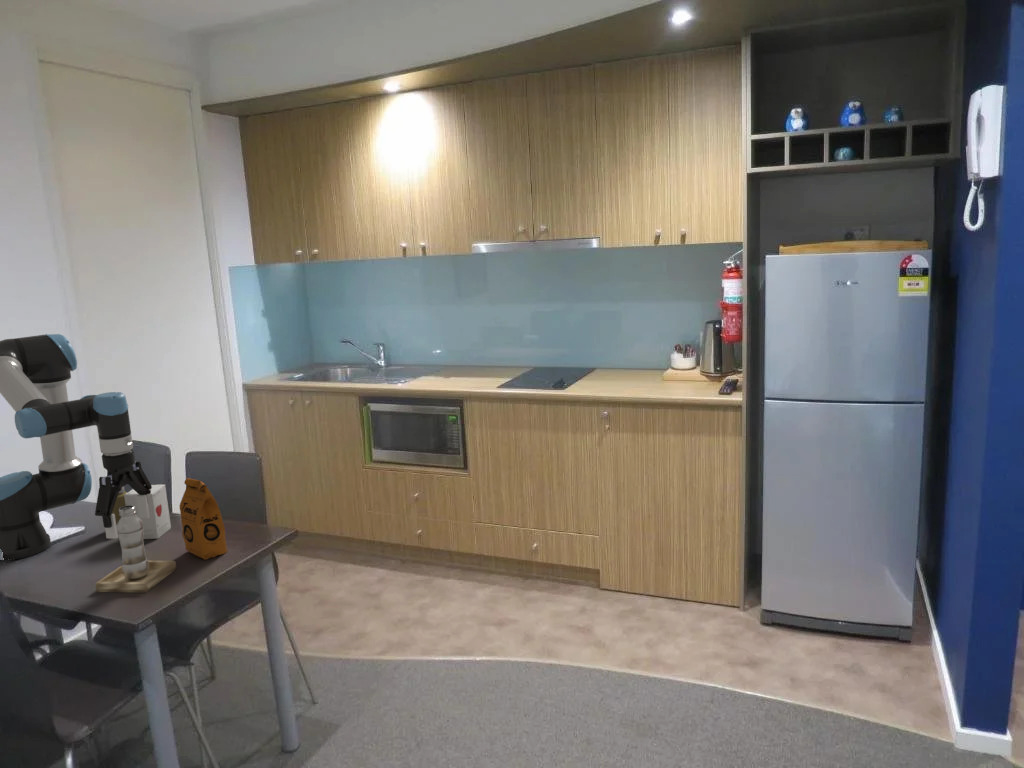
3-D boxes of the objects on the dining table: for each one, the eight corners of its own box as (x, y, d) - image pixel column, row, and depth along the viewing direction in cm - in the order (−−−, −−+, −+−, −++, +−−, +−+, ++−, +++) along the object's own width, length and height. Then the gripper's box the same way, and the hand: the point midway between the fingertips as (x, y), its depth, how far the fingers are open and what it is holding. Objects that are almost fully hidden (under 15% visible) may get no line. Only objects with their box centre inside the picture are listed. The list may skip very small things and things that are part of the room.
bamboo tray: (96, 591, 192) (95, 583, 191) (130, 568, 205) (128, 560, 205) (145, 592, 190) (144, 584, 189) (176, 568, 203) (175, 560, 203)
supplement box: (158, 539, 225) (151, 493, 222) (129, 540, 225) (122, 494, 222) (172, 527, 234) (166, 483, 231) (145, 528, 234) (138, 484, 231)
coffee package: (198, 563, 206) (188, 490, 202) (181, 552, 215) (171, 481, 210) (232, 552, 213) (223, 480, 209) (214, 541, 222) (205, 472, 217)
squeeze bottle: (110, 527, 236) (102, 475, 233) (138, 523, 239) (130, 471, 236) (106, 536, 229) (97, 482, 225) (134, 532, 232) (126, 478, 228)
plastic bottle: (124, 574, 199) (113, 505, 195) (151, 569, 202) (141, 501, 198) (121, 584, 193) (110, 513, 189) (150, 579, 196) (139, 509, 192)
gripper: (98, 467, 178) (111, 547, 182) (159, 438, 202) (168, 509, 206) (70, 466, 179) (83, 546, 183) (133, 438, 203) (144, 509, 207)
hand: (128, 527), depth 195 cm, fingers open, 13 cm apart
